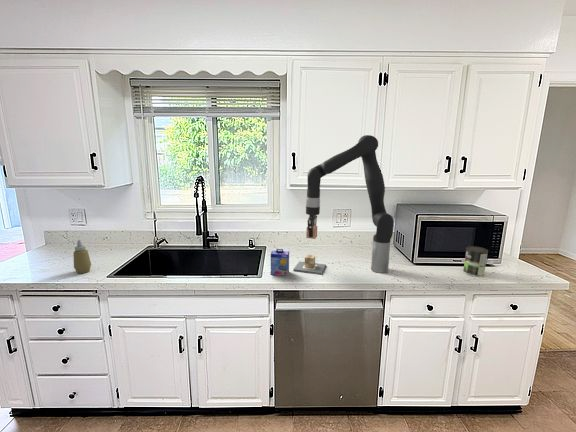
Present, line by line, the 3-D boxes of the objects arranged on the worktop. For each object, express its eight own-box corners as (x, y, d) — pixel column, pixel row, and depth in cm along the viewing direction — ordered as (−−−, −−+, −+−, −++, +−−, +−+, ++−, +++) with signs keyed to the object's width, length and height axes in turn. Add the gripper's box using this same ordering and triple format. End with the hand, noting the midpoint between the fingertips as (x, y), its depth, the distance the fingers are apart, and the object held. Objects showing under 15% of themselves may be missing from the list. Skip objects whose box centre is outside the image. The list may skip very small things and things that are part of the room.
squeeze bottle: (93, 268, 176) (89, 237, 172) (90, 273, 169) (86, 241, 165) (76, 270, 174) (72, 239, 170) (72, 275, 166) (67, 243, 162)
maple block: (315, 265, 179) (315, 255, 178) (313, 268, 175) (313, 258, 173) (306, 264, 181) (306, 254, 180) (304, 267, 176) (304, 257, 175)
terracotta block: (317, 236, 175) (317, 226, 173) (315, 238, 170) (315, 228, 169) (308, 235, 176) (308, 225, 175) (306, 238, 171) (306, 227, 170)
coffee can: (467, 276, 169) (470, 251, 166) (460, 269, 179) (463, 245, 176) (487, 277, 167) (491, 252, 164) (479, 270, 177) (483, 246, 174)
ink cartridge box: (270, 275, 169) (270, 249, 166) (271, 271, 174) (271, 246, 171) (288, 275, 168) (288, 250, 165) (289, 271, 173) (289, 246, 170)
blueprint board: (325, 266, 182) (325, 264, 182) (321, 274, 170) (321, 272, 170) (299, 262, 187) (299, 260, 186) (293, 270, 174) (293, 268, 174)
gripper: (317, 208, 161) (315, 239, 165) (322, 203, 175) (320, 233, 178) (303, 207, 163) (302, 238, 167) (309, 202, 177) (308, 231, 180)
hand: (311, 235), depth 173 cm, fingers closed on terracotta block, 5 cm apart
